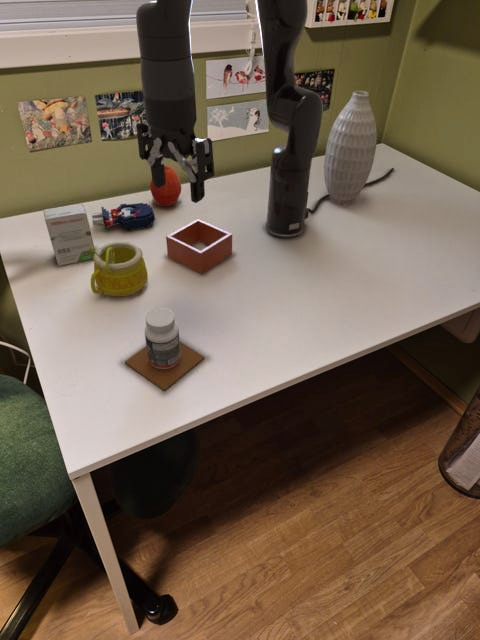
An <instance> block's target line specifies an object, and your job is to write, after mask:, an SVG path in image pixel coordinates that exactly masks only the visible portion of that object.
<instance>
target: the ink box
mask: <svg viewBox="0 0 480 640" xmlns="http://www.w3.org/2000/svg"><path fill="white" fill-rule="evenodd" d="M85 208H86V207H85V205H84V203H79V204H73V205H67V206H66V205H65V206H59V207H53V208H47V209H46V208H45V209H43V217H44V222H45V225H46V229H47V232H48V235H49V239H50V243H51V247H52V250H53V252H54V256H55V260H56V262H57V263H56V264H57V266H59V267H60V266H66V265H69V264H76V263H80V262H85V261H90V260H93V256H94V254H95V253H94V252H92V251H90V247H92V248H94V251H95V252H96V249H95V244H94V241H93V235H92V231H91V227H90V222H89V218H88V214H87V211H86V209H85Z"/></svg>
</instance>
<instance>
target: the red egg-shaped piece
mask: <svg viewBox="0 0 480 640" xmlns="http://www.w3.org/2000/svg"><path fill="white" fill-rule="evenodd" d="M164 169H165V178H166V184H165V185H164V186H162V187H160V188H157V187H155V186H154V183H153V180H152V179H151V180H150V185H149V187H150V193H151V196H152V199H153V200H154V202H155V203H156V204H157V205H158V206H161V207H169V206H173V205H174V204H176V203H177V202H178V200H179V198H180V195H181V193H182V183H181V180H180V178H179V175H178V173H177V172H176V171H175V169H173V167H171V166H169V165H165V164H164Z"/></svg>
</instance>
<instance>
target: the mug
mask: <svg viewBox="0 0 480 640" xmlns="http://www.w3.org/2000/svg"><path fill="white" fill-rule="evenodd" d="M94 248H95V247H94ZM94 248H92V247H90V251H92V252H94V253H95V254H94V256H93V259H92V260H93V264H94V265H93V273H92V274H91V277H90V288H91V291H92V293H94V295H95V294H96V295H99V294H101V295H103V294H105V295H107V296H109V297H127V296H131V295H133V294H136V293H139V292H140V291H141V290H142V289H143V288H144V287H145V286H146V284H147V281H148V269H147V267H146V266H147V265H146V262H145V259H144V257H143V256H144V255H143V250H142V249H141V248H140V247H139V246H138V245H136V244H134V243H131V242H128V241H127V242H126V241H114V242H110V243H107V244H103V245H102V246H100V247H99V248H98V249H97V250H95V251H94ZM97 288H98V289H97Z"/></svg>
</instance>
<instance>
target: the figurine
mask: <svg viewBox="0 0 480 640" xmlns="http://www.w3.org/2000/svg"><path fill="white" fill-rule="evenodd" d="M155 218H156V216H155V211H154V209H153V206H151V205H150V204H148V203H144V202H137V203H129V204H127V203H120V204H119V206H118V207H116V208H111V209H109V208H105V207H104V206H101V212H93V213H91V219H92V221H91V222H92V225H93V226H96V225H97V226H98V225H99V226H100V225H104V230H108V228H109V227H112V226H115V225H118V224H119V227H121V228H122V229H124V231H126V232H130V231H132V230H137V229H147V228H148V227H150V226H152V224H153V223H154V221H156V219H155Z"/></svg>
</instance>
